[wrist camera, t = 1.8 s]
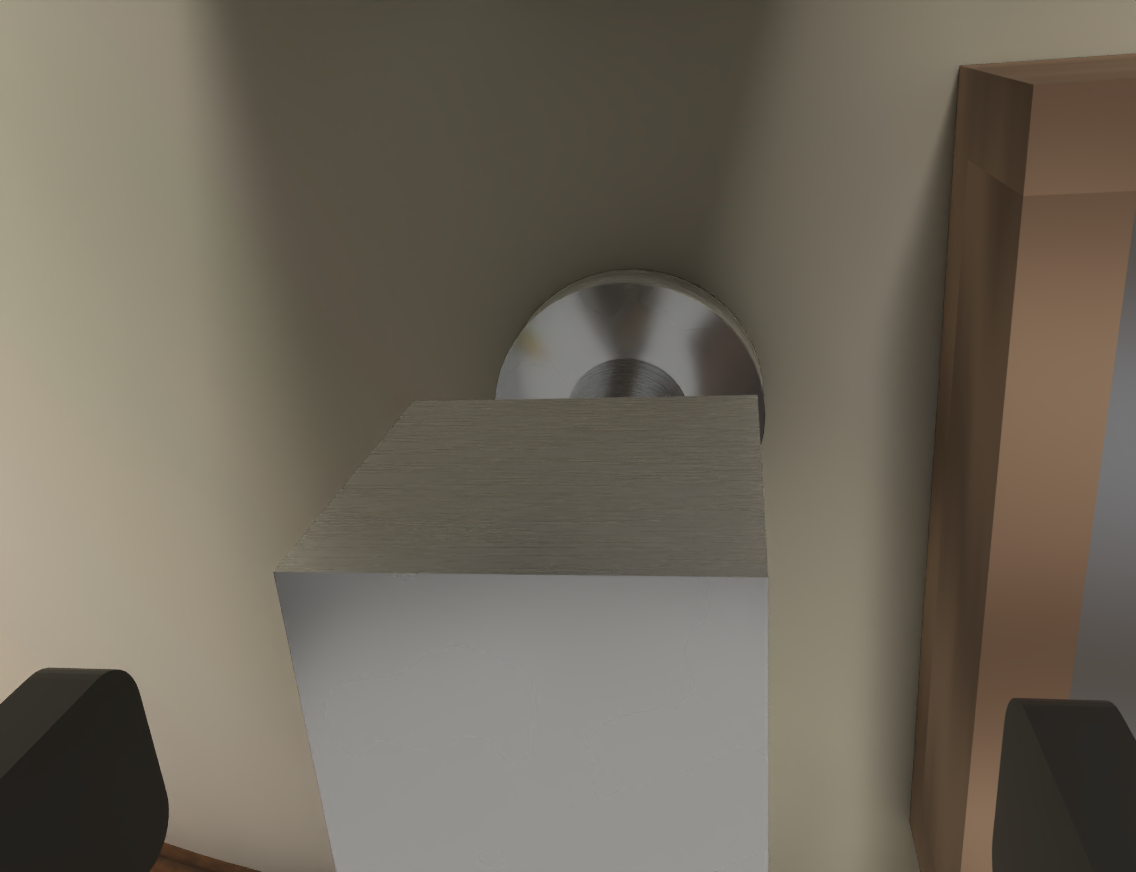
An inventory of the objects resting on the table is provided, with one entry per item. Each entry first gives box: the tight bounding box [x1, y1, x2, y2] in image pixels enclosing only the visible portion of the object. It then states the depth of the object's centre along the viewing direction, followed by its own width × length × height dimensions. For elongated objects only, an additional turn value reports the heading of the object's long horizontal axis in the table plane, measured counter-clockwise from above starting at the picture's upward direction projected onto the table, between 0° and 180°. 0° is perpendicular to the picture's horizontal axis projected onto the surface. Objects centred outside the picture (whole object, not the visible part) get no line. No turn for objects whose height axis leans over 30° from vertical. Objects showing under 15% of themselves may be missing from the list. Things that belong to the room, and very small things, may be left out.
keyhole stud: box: [274, 269, 768, 872], centre depth 13 cm, size 4×4×10 cm
